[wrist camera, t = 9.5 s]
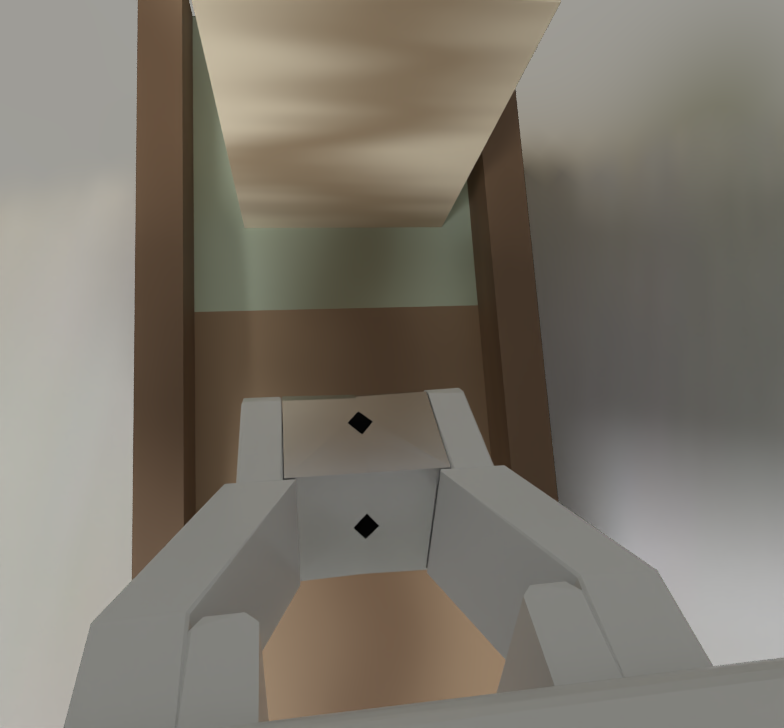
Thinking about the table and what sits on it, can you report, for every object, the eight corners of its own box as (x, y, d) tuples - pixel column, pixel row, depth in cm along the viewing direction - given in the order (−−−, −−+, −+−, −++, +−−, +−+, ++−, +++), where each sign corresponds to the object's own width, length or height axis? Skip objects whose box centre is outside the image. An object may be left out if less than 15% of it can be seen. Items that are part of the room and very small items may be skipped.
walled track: (167, 1107, 14) (124, 1303, 11) (168, 63, 19) (138, -31, 15) (558, 1033, 16) (629, 1188, 12) (470, 71, 20) (504, -13, 17)
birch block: (244, 228, 16) (187, -15, 8) (241, 48, 17) (187, -326, 9) (441, 227, 17) (560, 2, 9) (428, 54, 18) (525, -288, 10)
